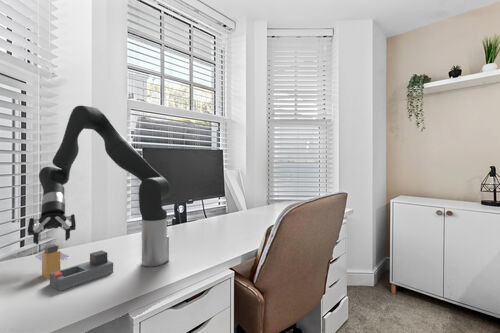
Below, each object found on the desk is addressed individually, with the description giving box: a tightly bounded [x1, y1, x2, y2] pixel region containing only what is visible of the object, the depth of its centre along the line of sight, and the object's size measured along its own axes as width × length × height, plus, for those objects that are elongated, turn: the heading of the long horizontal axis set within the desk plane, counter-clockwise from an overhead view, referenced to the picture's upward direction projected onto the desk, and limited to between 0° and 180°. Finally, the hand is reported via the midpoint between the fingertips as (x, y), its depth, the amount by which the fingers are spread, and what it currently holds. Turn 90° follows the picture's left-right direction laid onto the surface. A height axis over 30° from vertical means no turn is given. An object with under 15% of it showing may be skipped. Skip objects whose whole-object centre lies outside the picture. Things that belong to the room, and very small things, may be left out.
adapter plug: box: [41, 243, 61, 279], centre depth 88 cm, size 4×4×10 cm
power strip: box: [49, 250, 114, 292], centre depth 85 cm, size 16×8×7 cm, turn 146°
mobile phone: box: [35, 251, 71, 261], centre depth 104 cm, size 8×1×15 cm
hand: (52, 241), depth 92 cm, fingers open, 8 cm apart
